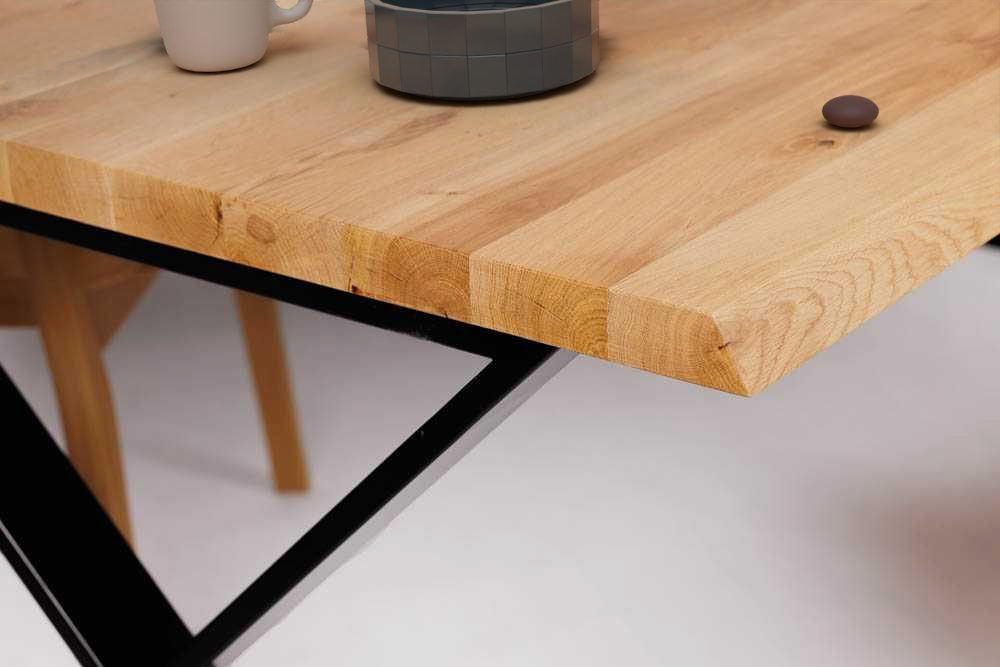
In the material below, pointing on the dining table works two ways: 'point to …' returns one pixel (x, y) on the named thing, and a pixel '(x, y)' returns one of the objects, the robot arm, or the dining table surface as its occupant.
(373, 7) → the bowl
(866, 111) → the chocolate truffle
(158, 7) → the cup
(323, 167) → the dining table surface
